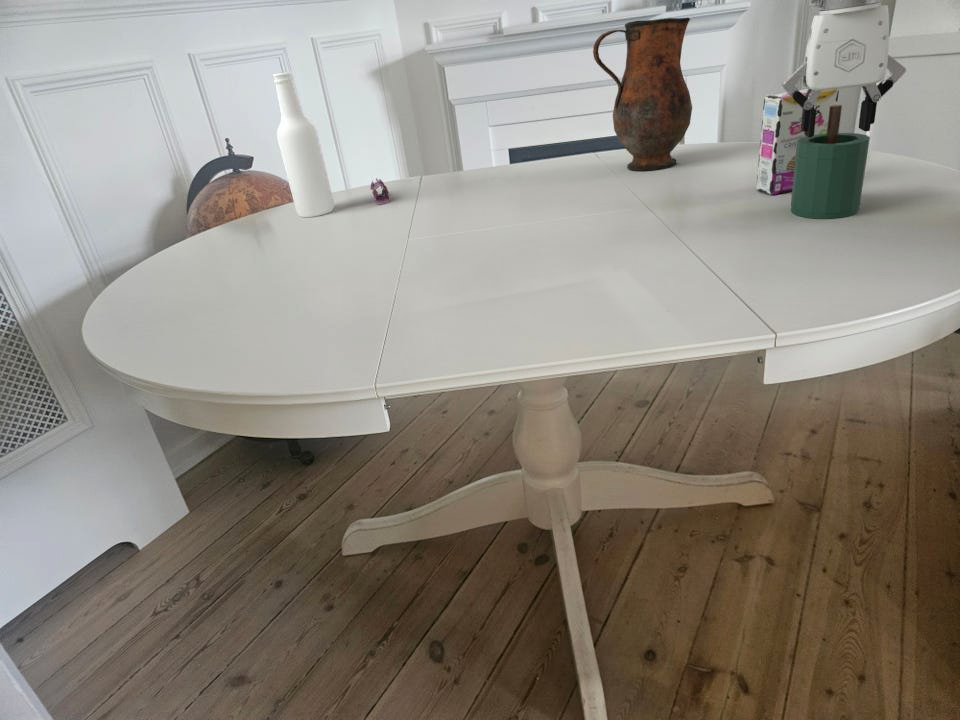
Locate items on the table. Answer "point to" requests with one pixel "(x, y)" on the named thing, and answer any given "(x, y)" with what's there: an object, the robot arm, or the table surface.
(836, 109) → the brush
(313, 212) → the alcohol
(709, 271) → the table surface
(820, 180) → the cup
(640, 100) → the pitcher
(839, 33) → the robot arm
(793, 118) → the candy bar box
